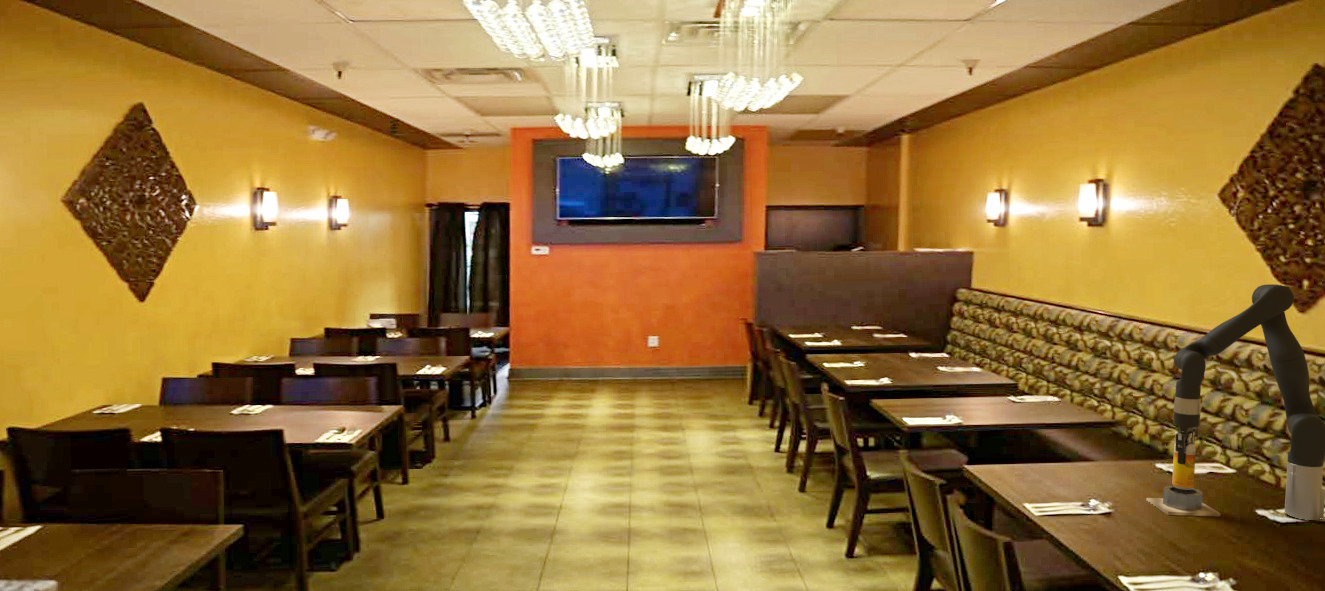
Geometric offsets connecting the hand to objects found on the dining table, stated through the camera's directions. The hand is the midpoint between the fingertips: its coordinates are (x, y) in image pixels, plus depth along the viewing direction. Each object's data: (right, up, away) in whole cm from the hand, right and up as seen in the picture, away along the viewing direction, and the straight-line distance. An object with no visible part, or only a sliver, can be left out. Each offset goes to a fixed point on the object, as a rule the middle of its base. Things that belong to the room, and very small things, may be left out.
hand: (1184, 461), depth 289 cm
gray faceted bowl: (0, -15, +1) cm, 16 cm away
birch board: (0, -15, +1) cm, 16 cm away
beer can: (0, -9, +1) cm, 9 cm away
